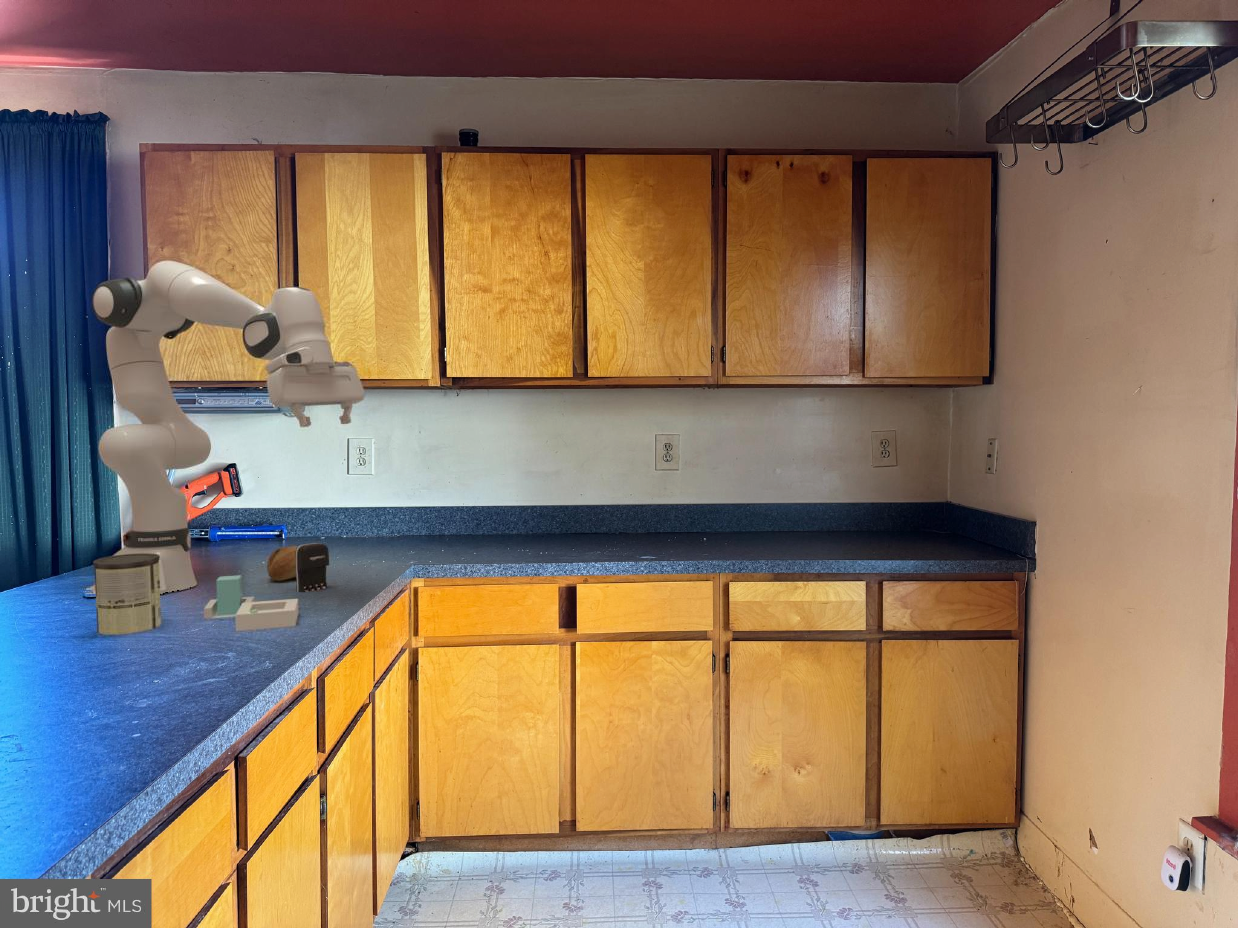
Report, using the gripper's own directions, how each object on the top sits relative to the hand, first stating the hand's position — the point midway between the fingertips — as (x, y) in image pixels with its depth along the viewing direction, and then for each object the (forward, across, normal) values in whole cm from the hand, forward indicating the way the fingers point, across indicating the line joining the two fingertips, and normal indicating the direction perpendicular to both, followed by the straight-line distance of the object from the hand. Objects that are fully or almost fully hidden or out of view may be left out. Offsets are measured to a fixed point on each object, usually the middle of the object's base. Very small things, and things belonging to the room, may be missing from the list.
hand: (326, 424), depth 156 cm
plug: (+32, +18, -20) cm, 42 cm away
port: (+37, +18, -7) cm, 42 cm away
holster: (+33, +18, -20) cm, 43 cm away
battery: (+33, -4, -26) cm, 42 cm away
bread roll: (+28, -11, -47) cm, 56 cm away
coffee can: (+32, +35, -24) cm, 53 cm away
